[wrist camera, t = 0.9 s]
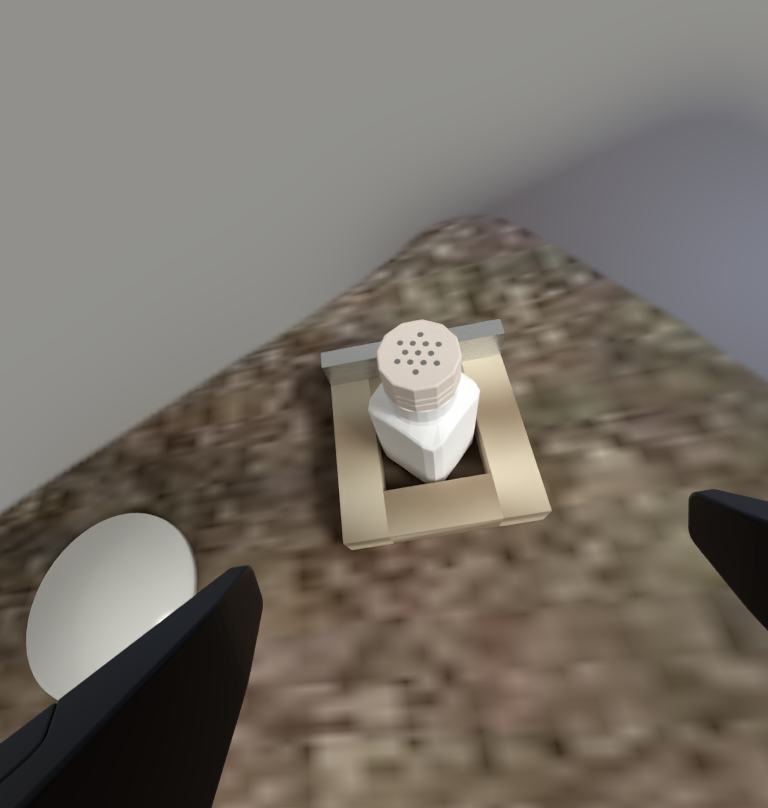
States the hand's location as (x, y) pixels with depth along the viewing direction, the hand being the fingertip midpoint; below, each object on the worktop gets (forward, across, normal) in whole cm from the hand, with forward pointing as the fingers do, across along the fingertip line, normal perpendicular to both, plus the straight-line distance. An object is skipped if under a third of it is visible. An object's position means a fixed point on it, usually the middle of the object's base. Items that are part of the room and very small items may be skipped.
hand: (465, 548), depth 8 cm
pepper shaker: (+15, 0, +4) cm, 15 cm away
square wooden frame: (+15, 0, +4) cm, 15 cm away
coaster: (+11, +18, +8) cm, 22 cm away
